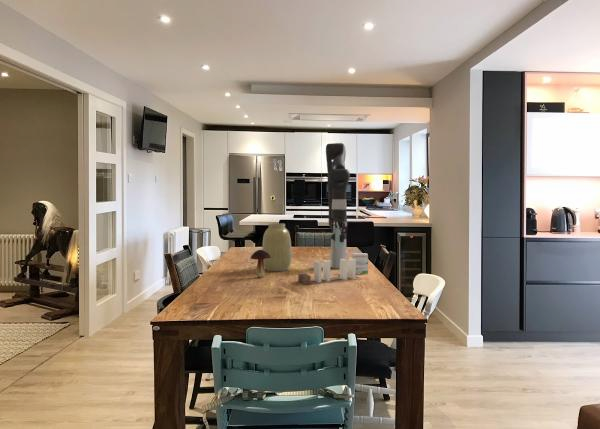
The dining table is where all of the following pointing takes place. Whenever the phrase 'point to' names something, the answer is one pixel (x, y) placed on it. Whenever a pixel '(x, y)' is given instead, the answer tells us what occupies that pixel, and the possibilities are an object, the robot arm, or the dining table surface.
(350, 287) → the dining table surface
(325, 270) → the domino
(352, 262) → the domino
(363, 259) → the ink box
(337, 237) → the domino
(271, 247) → the vase
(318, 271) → the domino
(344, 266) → the domino
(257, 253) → the decorative mushroom
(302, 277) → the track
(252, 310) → the dining table surface
